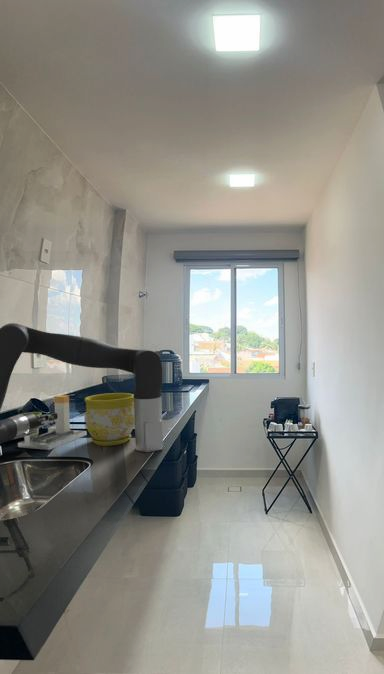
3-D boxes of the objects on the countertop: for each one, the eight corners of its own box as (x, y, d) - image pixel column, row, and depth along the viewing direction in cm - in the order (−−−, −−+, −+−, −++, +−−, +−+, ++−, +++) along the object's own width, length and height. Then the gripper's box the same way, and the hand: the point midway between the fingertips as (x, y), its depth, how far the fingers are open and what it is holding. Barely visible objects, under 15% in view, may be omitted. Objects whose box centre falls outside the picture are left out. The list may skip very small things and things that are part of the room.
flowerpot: (125, 448, 133) (124, 400, 133) (77, 447, 137) (75, 400, 137) (143, 435, 151) (141, 392, 151) (99, 434, 154) (97, 393, 154)
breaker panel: (86, 434, 155) (86, 425, 155) (48, 449, 135) (48, 439, 135) (58, 432, 160) (57, 424, 160) (17, 447, 140) (17, 437, 140)
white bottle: (70, 432, 153) (69, 395, 153) (64, 434, 150) (63, 396, 150) (60, 431, 155) (59, 395, 155) (55, 433, 152) (53, 396, 152)
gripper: (35, 415, 131) (69, 406, 147) (5, 414, 136) (42, 405, 152) (35, 438, 131) (70, 426, 147) (6, 435, 136) (42, 424, 152)
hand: (55, 415), depth 149 cm, fingers closed
